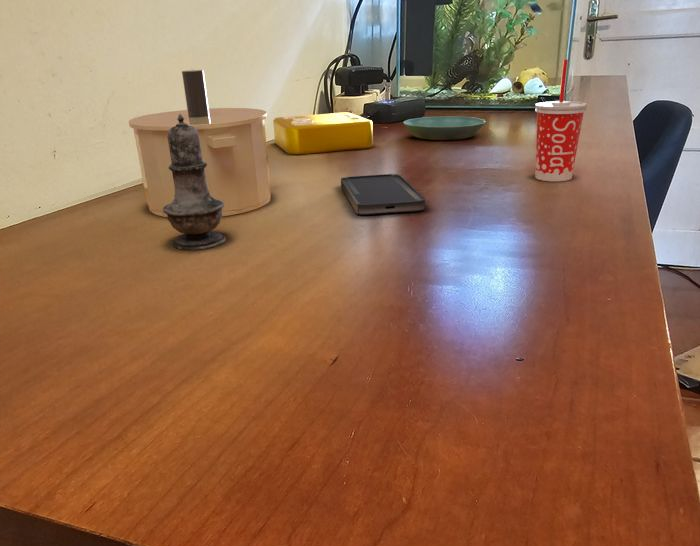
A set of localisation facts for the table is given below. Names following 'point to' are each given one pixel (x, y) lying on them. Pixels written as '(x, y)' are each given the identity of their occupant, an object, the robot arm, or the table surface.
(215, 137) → the pot
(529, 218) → the table surface
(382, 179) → the phone
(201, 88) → the pot lid
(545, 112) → the beverage cup
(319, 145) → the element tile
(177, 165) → the salt shaker
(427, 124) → the saucer
